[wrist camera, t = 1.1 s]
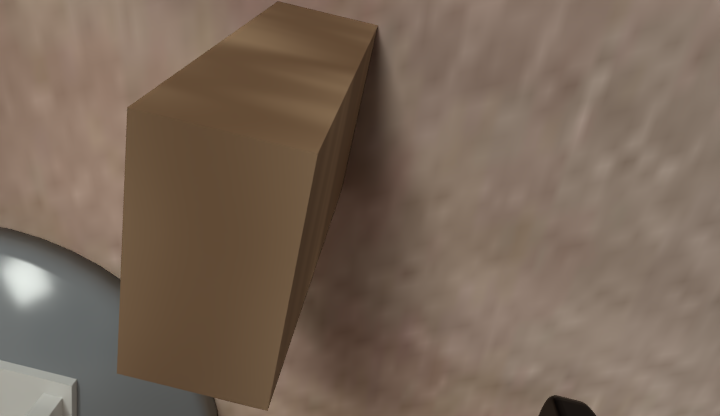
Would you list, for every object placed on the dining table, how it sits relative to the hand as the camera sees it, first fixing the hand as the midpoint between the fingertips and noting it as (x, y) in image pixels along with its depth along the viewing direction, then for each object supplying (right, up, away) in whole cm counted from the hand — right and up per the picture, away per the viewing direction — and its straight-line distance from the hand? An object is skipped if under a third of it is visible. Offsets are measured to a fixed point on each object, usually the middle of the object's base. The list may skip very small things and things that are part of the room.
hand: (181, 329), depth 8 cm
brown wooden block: (+1, +4, +8) cm, 9 cm away
